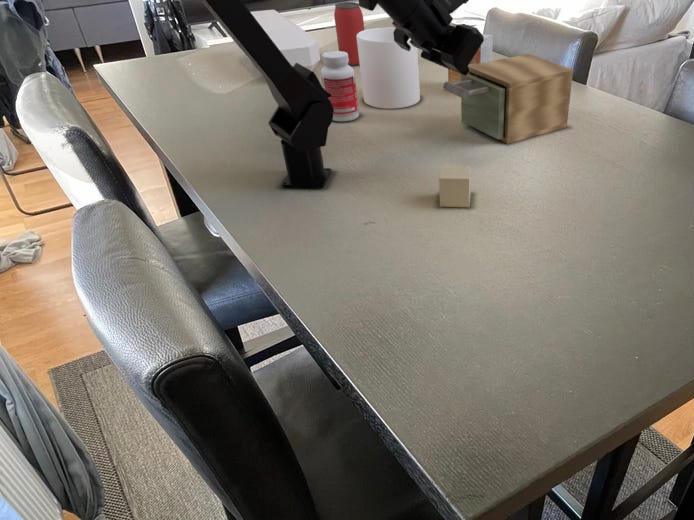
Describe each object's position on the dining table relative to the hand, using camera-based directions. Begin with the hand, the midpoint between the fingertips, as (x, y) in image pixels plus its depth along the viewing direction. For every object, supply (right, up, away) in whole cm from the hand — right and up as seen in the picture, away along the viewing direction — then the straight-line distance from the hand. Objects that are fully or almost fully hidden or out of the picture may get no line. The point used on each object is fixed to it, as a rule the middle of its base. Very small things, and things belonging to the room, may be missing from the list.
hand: (466, 72), depth 99 cm
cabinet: (+9, -3, +13) cm, 16 cm away
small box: (0, +11, +29) cm, 31 cm away
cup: (-16, +6, +23) cm, 29 cm away
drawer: (+5, -5, +10) cm, 12 cm away
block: (-1, -25, -11) cm, 28 cm away
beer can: (-28, +25, +43) cm, 57 cm away
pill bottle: (-24, -1, +15) cm, 29 cm away
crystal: (-46, +22, +39) cm, 64 cm away
